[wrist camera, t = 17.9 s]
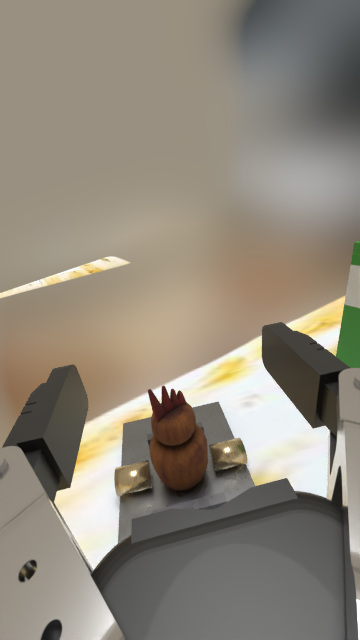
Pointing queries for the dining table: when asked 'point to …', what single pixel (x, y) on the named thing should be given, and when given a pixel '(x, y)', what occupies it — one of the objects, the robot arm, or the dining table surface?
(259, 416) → the dining table surface
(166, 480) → the wooden figurine
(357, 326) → the hardback book
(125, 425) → the metal mounting plate
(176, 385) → the dining table surface
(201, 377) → the dining table surface
